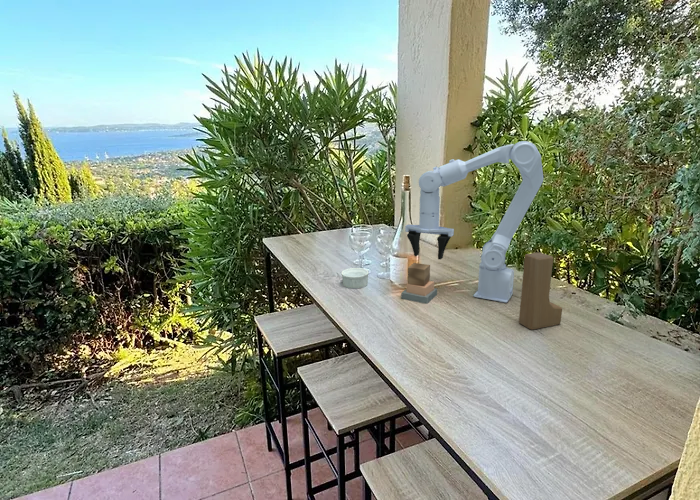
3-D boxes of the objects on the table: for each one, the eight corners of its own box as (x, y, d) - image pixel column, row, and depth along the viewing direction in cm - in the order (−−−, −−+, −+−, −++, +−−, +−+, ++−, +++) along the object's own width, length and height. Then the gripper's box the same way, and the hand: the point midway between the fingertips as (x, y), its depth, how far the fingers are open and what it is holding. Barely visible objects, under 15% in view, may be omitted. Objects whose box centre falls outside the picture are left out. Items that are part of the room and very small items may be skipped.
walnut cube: (429, 281, 117) (430, 264, 116) (424, 286, 113) (424, 269, 112) (413, 278, 120) (413, 262, 118) (407, 283, 115) (407, 267, 114)
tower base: (437, 296, 119) (437, 288, 118) (426, 305, 112) (427, 297, 111) (412, 291, 123) (412, 284, 122) (401, 300, 116) (401, 292, 116)
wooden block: (547, 317, 102) (554, 249, 97) (561, 324, 97) (569, 254, 93) (517, 322, 99) (524, 253, 94) (530, 330, 95) (538, 258, 90)
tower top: (434, 289, 117) (434, 281, 117) (425, 296, 113) (425, 288, 112) (415, 285, 121) (416, 278, 120) (406, 292, 116) (406, 284, 115)
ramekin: (358, 291, 123) (357, 278, 122) (336, 286, 128) (335, 273, 127) (374, 283, 130) (374, 270, 128) (352, 278, 135) (352, 266, 134)
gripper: (401, 213, 117) (400, 257, 121) (448, 216, 109) (446, 263, 113) (410, 209, 123) (410, 251, 126) (457, 212, 115) (455, 257, 119)
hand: (428, 256), depth 120 cm, fingers open, 7 cm apart
